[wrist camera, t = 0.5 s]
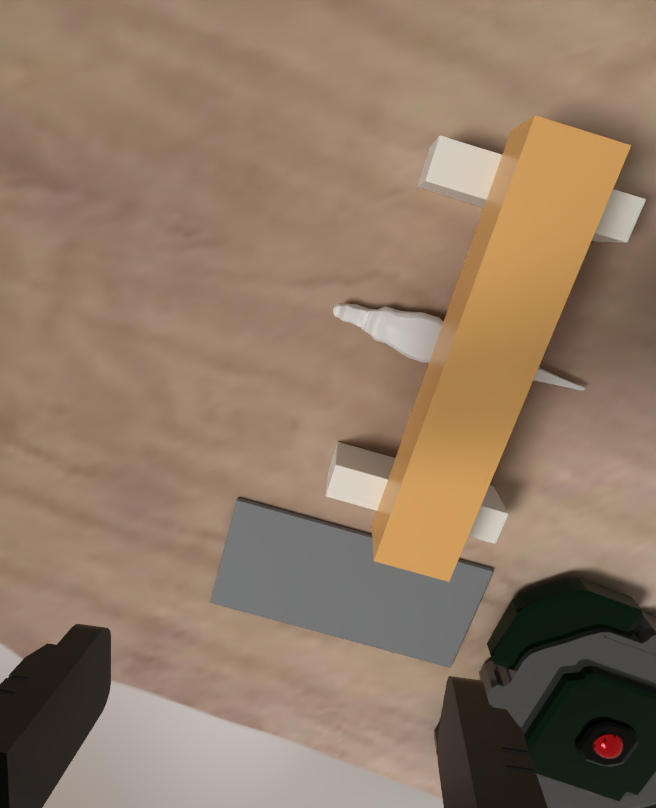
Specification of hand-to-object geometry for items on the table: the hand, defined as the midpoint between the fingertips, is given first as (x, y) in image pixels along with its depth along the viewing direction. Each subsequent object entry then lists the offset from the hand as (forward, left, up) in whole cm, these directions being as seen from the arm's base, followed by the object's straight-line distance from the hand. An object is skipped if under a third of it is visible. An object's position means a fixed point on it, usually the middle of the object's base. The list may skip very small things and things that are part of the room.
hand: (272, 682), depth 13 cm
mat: (+11, +5, -21) cm, 24 cm away
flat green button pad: (+15, +23, -22) cm, 35 cm away
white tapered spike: (-6, +6, -21) cm, 23 cm away
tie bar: (-6, +6, -17) cm, 19 cm away
